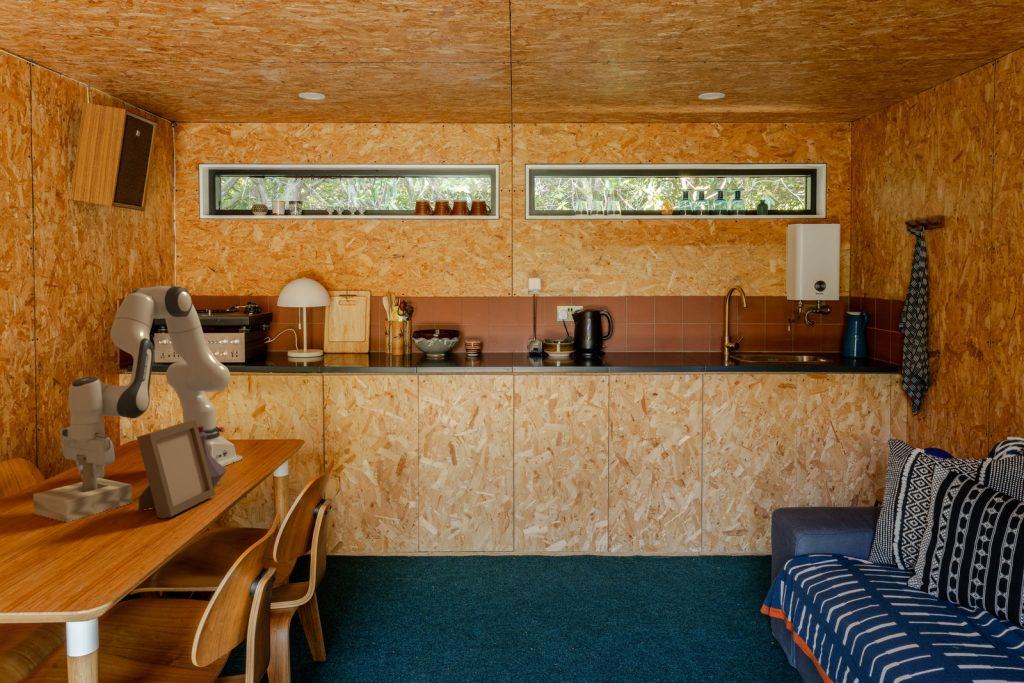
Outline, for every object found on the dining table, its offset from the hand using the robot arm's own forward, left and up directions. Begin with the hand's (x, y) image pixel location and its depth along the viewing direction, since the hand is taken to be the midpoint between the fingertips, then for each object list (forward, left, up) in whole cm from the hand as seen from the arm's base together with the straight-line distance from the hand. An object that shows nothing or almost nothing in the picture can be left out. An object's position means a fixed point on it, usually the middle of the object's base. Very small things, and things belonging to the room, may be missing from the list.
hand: (89, 476), depth 220 cm
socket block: (+2, 0, -9) cm, 10 cm away
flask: (-32, +10, -10) cm, 35 cm away
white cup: (-20, -30, -10) cm, 37 cm away
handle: (0, 0, -8) cm, 8 cm away
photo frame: (-11, +22, -10) cm, 27 cm away
